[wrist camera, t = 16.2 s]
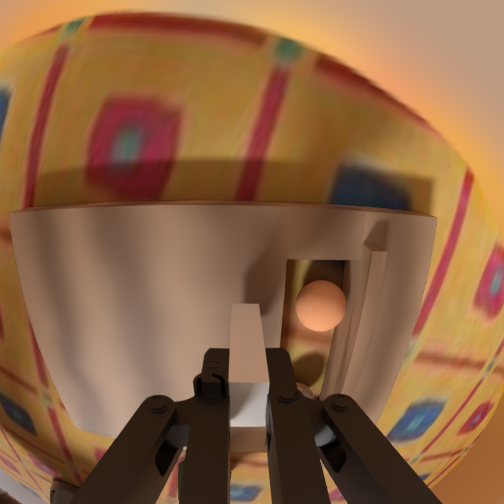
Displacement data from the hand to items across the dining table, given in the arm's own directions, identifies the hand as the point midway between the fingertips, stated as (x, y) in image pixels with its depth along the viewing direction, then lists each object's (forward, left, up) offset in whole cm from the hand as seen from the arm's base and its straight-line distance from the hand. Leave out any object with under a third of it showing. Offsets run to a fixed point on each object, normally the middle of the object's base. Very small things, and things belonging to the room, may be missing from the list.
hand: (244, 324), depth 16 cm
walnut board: (-2, -4, -4) cm, 6 cm away
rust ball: (+5, 0, -2) cm, 5 cm away
